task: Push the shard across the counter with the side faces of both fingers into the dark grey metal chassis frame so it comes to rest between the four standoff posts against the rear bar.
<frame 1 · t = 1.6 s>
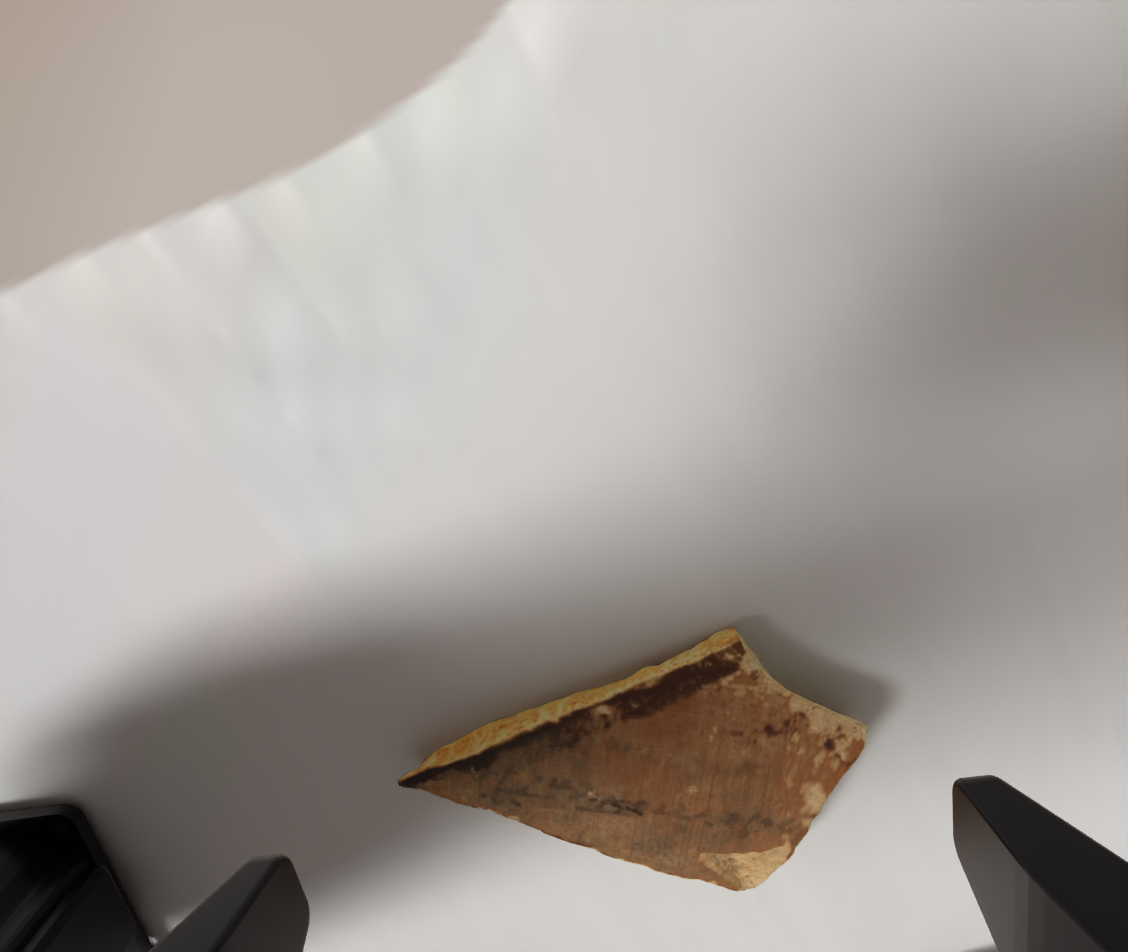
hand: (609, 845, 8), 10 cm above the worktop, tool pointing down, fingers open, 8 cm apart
shard: (650, 766, 21), on the worktop
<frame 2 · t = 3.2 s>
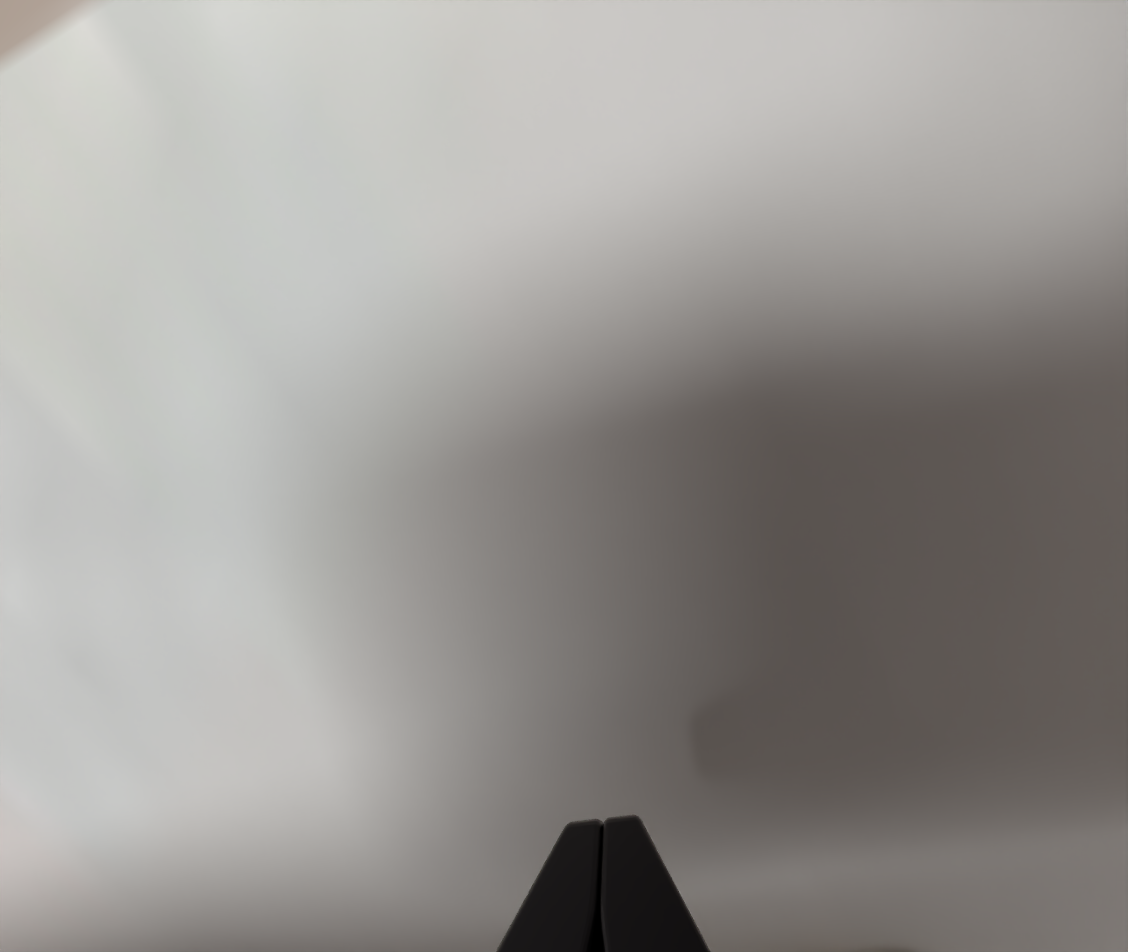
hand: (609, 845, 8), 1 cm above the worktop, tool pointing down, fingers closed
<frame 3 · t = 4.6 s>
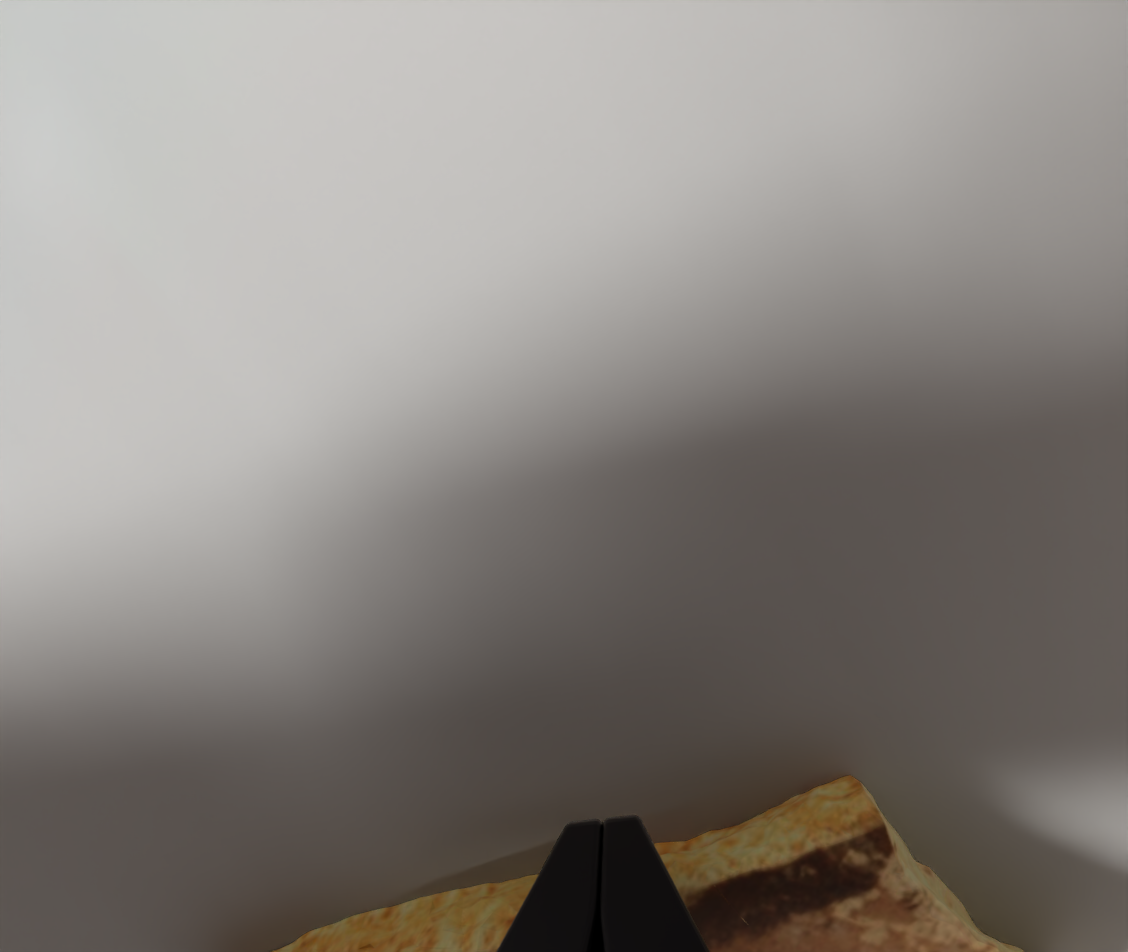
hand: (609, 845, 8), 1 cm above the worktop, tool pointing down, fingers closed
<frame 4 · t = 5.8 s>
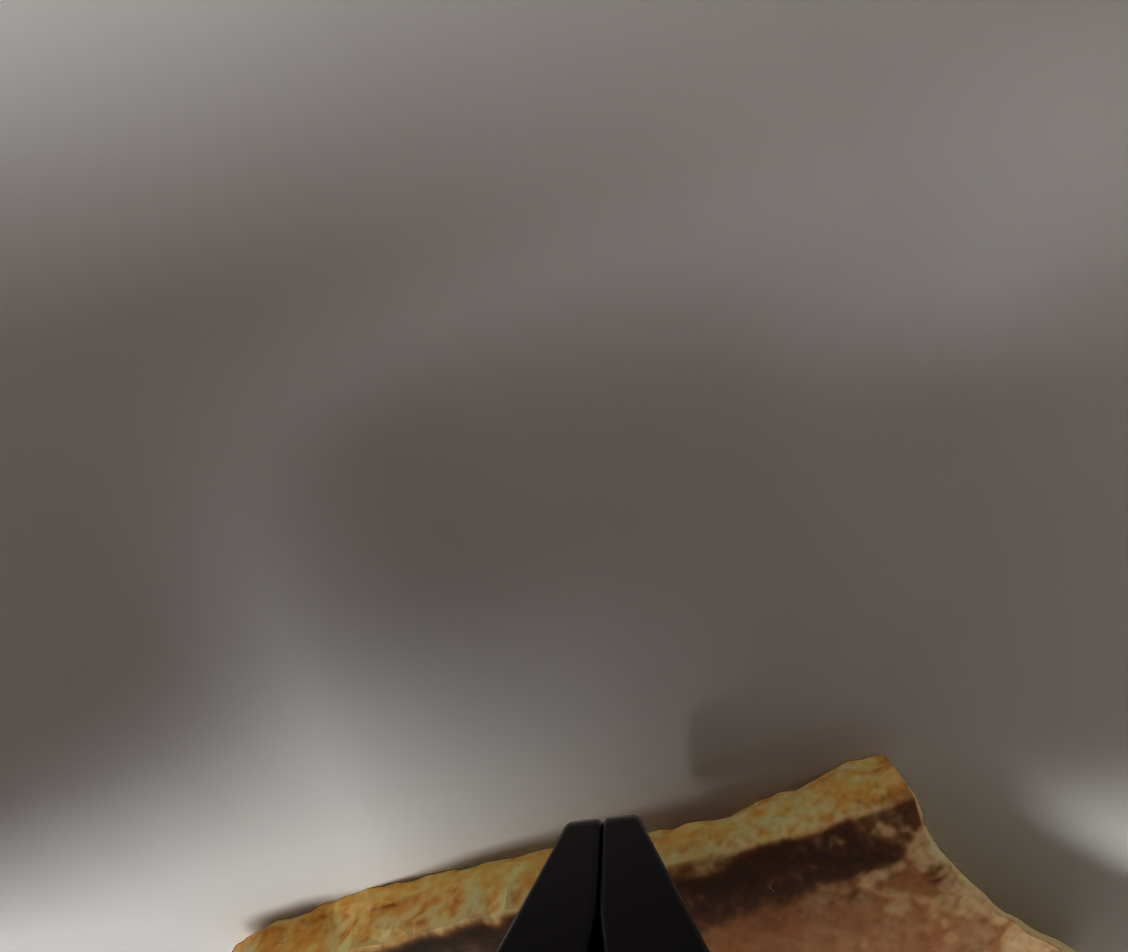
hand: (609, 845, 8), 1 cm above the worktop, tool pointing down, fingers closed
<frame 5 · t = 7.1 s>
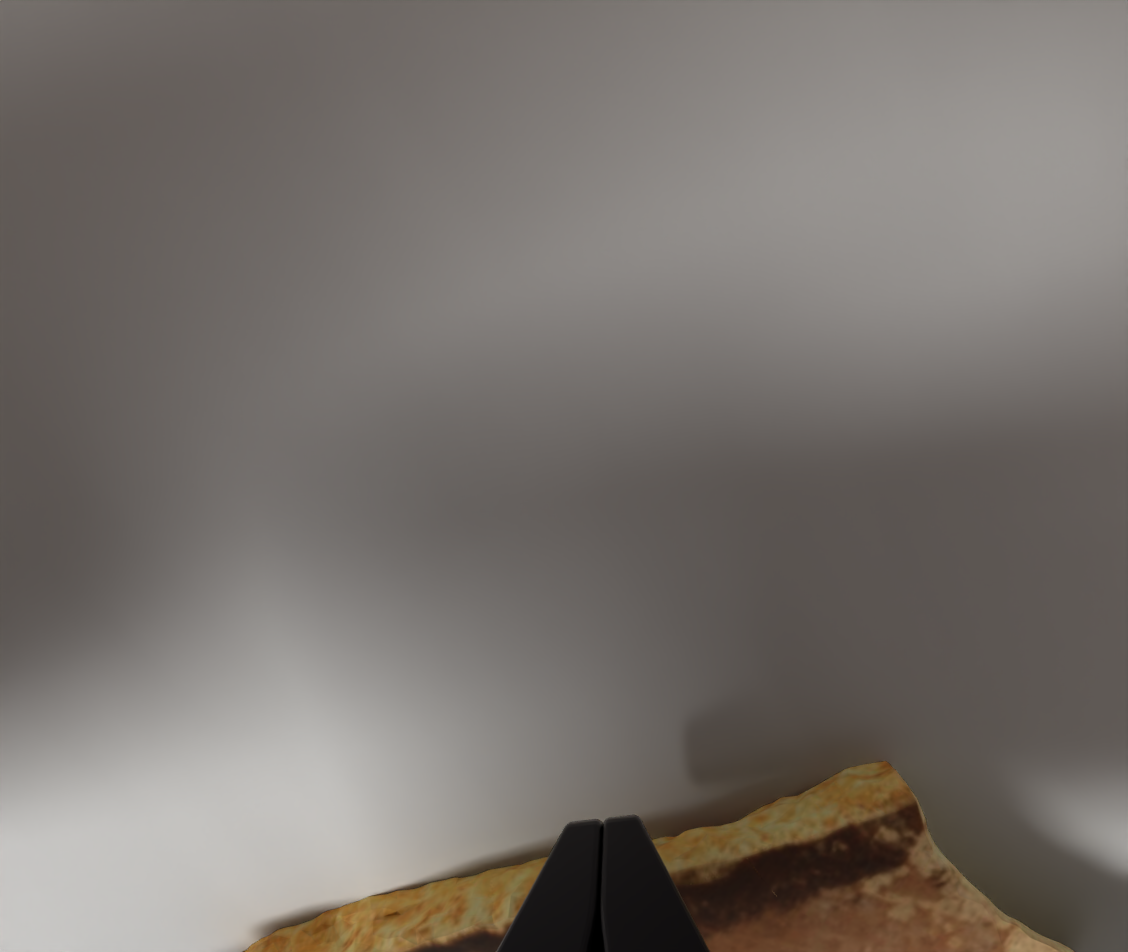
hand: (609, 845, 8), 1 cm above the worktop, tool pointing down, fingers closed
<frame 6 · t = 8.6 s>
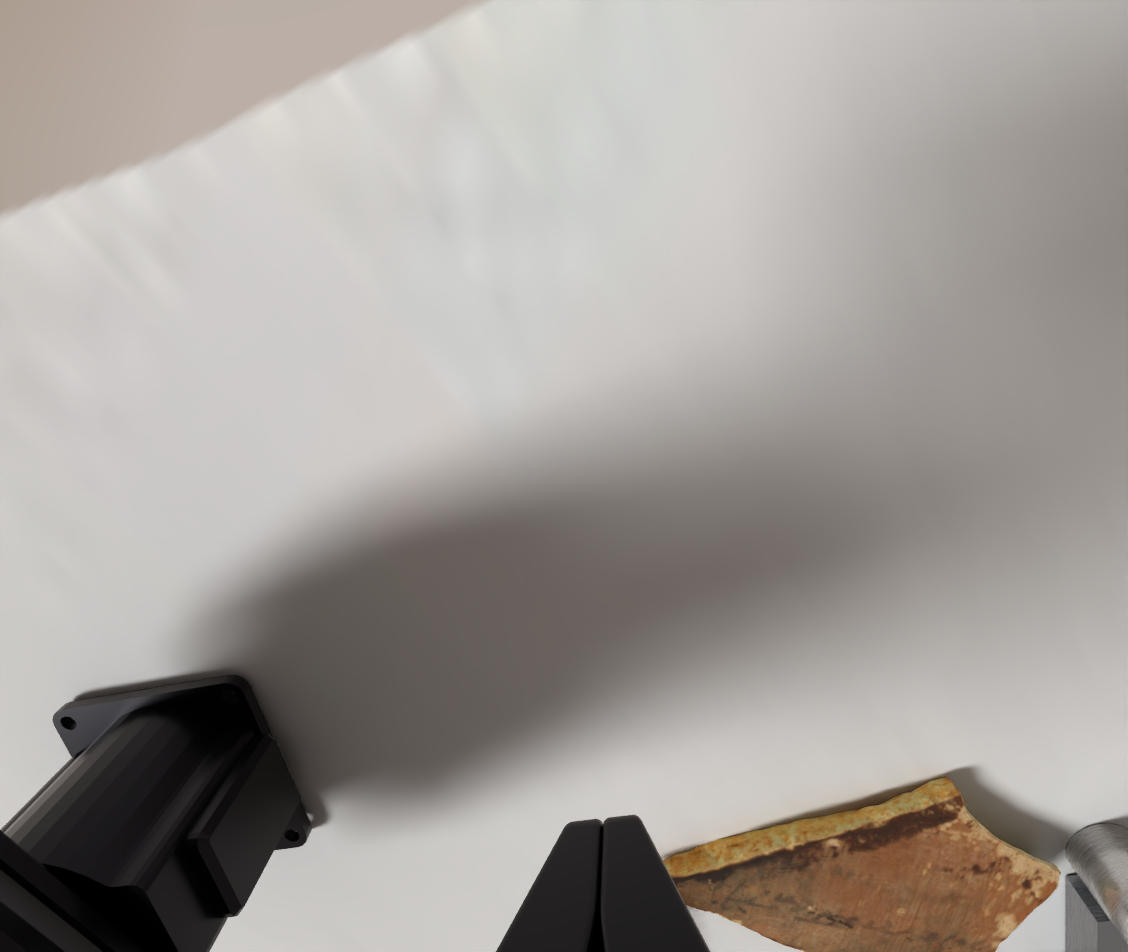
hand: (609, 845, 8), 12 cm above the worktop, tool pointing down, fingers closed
shard: (845, 878, 24), on the worktop
chassis: (846, 900, 24), on the worktop
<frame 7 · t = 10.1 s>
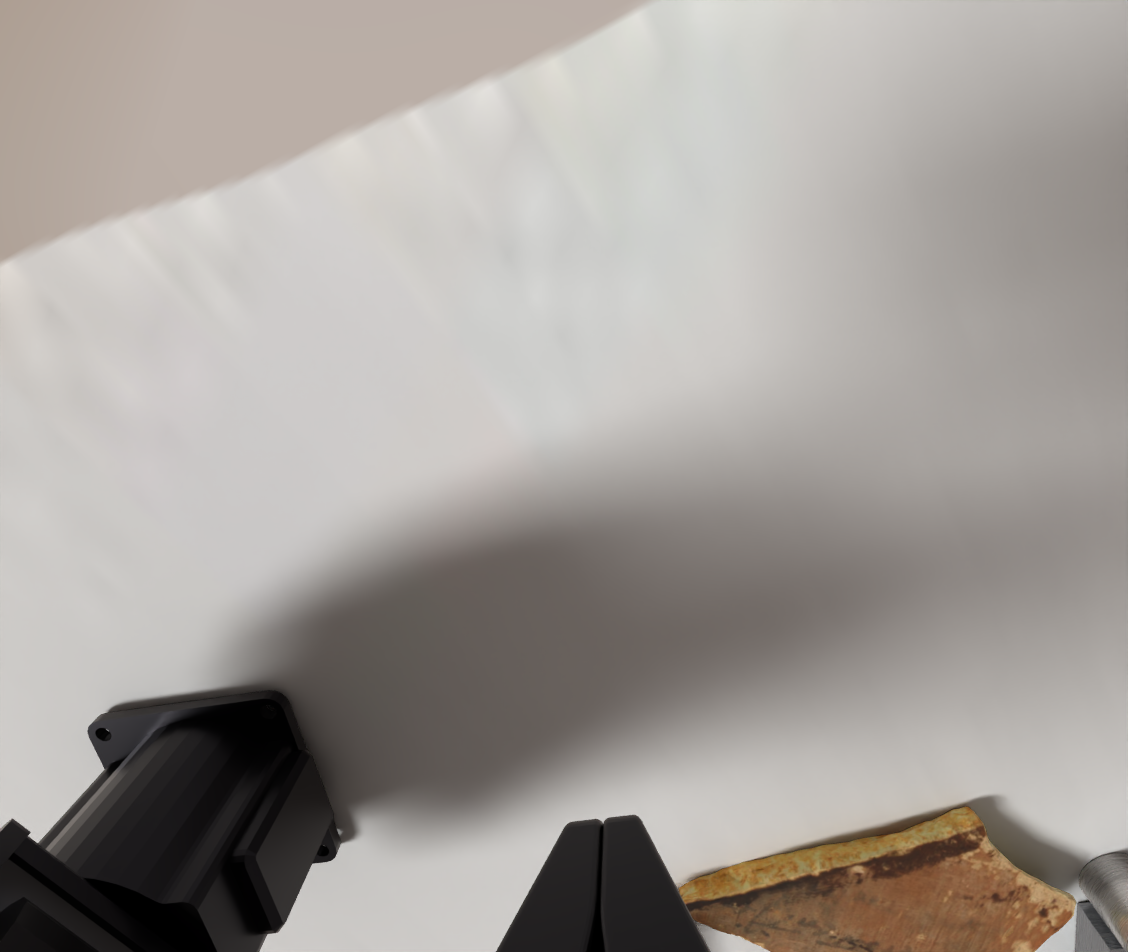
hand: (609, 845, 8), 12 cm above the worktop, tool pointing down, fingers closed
shard: (863, 902, 25), on the worktop
chassis: (864, 923, 24), on the worktop
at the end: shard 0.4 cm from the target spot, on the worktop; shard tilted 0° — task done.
